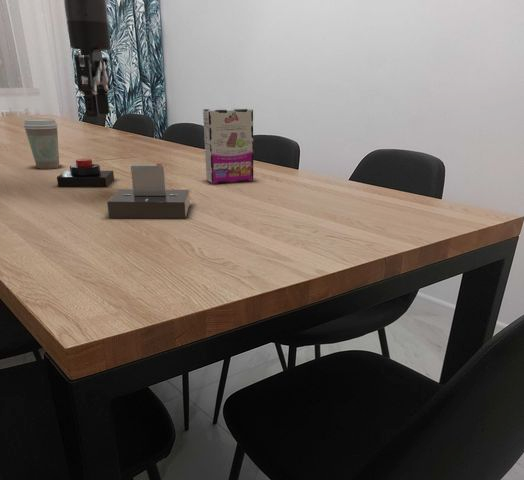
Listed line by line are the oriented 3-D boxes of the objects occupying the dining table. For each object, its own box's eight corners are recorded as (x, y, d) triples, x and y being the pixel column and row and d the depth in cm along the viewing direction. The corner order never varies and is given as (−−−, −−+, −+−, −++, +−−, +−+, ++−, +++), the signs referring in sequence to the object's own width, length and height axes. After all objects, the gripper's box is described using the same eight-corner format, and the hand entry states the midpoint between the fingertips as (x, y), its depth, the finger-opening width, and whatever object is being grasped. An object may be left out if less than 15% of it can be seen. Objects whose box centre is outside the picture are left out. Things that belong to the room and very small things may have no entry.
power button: (75, 168, 117) (73, 160, 116) (79, 166, 120) (78, 158, 119) (90, 168, 117) (89, 160, 116) (94, 166, 120) (93, 158, 119)
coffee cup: (31, 170, 133) (21, 121, 128) (31, 165, 140) (22, 118, 134) (65, 169, 136) (57, 120, 130) (64, 164, 143) (56, 118, 137)
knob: (133, 195, 95) (130, 163, 92) (135, 194, 96) (131, 162, 94) (165, 196, 95) (163, 164, 93) (166, 194, 97) (164, 162, 94)
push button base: (58, 186, 116) (54, 168, 114) (69, 179, 124) (66, 162, 122) (106, 187, 116) (104, 169, 114) (114, 179, 124) (112, 162, 122)
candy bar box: (246, 178, 129) (246, 107, 121) (253, 181, 125) (254, 108, 117) (205, 180, 125) (202, 107, 117) (211, 184, 121) (209, 109, 113)
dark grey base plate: (109, 218, 92) (106, 200, 91) (120, 204, 102) (118, 188, 100) (185, 218, 93) (184, 201, 92) (189, 204, 103) (189, 188, 101)
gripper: (97, 16, 88) (108, 118, 96) (116, 24, 100) (125, 113, 108) (54, 15, 88) (68, 117, 96) (79, 23, 100) (90, 112, 108)
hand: (98, 115), depth 102 cm, fingers open, 8 cm apart
